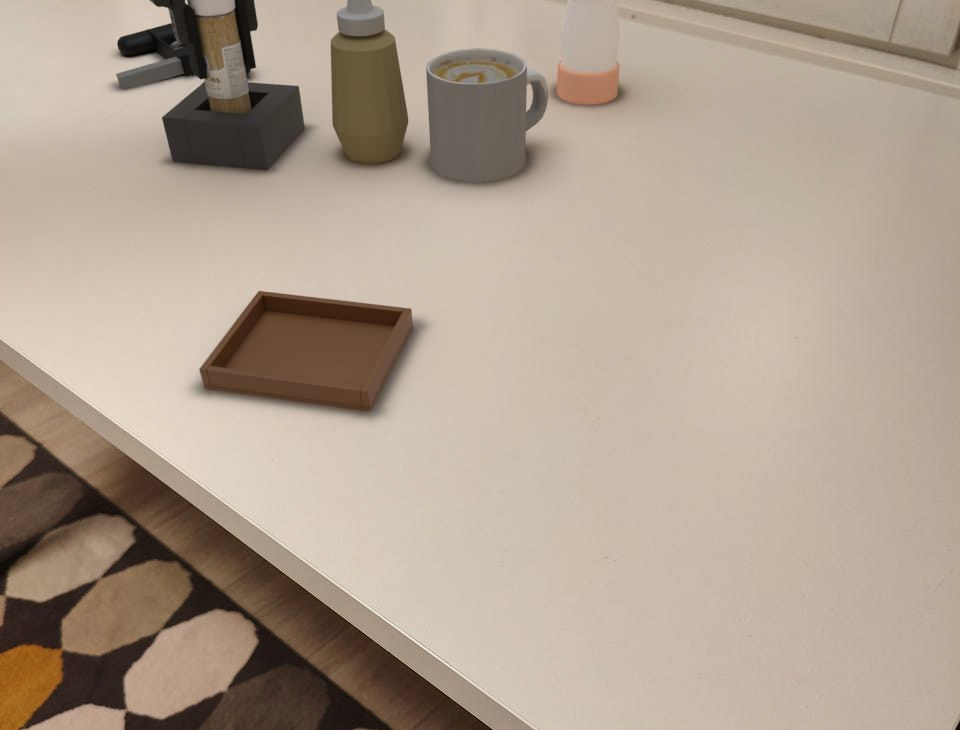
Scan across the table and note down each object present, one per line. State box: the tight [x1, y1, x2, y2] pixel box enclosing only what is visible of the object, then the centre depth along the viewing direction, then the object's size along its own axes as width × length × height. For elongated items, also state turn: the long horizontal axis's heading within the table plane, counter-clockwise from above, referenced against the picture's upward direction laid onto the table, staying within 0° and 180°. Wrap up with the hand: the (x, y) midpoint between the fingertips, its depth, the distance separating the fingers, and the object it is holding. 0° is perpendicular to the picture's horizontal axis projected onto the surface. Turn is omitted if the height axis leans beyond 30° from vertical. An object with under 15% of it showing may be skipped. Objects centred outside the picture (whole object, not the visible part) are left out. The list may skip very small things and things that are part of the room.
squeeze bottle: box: [330, 0, 409, 165], centre depth 96 cm, size 8×8×18 cm
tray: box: [199, 290, 414, 412], centre depth 74 cm, size 13×11×2 cm
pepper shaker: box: [556, 0, 620, 106], centre depth 107 cm, size 7×7×19 cm
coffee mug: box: [425, 47, 549, 183], centre depth 97 cm, size 13×10×10 cm
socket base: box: [161, 81, 306, 171], centre depth 102 cm, size 11×11×5 cm
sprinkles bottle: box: [186, 0, 251, 114], centre depth 98 cm, size 5×5×13 cm
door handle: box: [115, 22, 252, 90], centre depth 121 cm, size 3×20×16 cm
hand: (223, 69), depth 98 cm, fingers closed on sprinkles bottle, 5 cm apart
